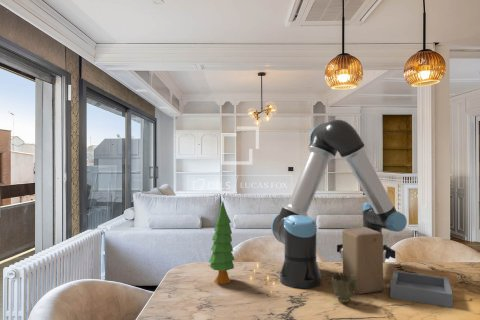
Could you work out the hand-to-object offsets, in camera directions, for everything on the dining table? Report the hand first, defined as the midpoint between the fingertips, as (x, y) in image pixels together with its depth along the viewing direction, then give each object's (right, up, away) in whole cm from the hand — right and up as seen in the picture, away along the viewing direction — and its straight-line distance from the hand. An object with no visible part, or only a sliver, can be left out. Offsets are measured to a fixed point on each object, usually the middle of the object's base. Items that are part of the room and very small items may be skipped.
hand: (361, 256), depth 116 cm
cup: (-10, -11, -12) cm, 19 cm away
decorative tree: (-49, -12, +8) cm, 51 cm away
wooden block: (0, -11, 0) cm, 11 cm away
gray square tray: (+18, -11, -5) cm, 21 cm away
